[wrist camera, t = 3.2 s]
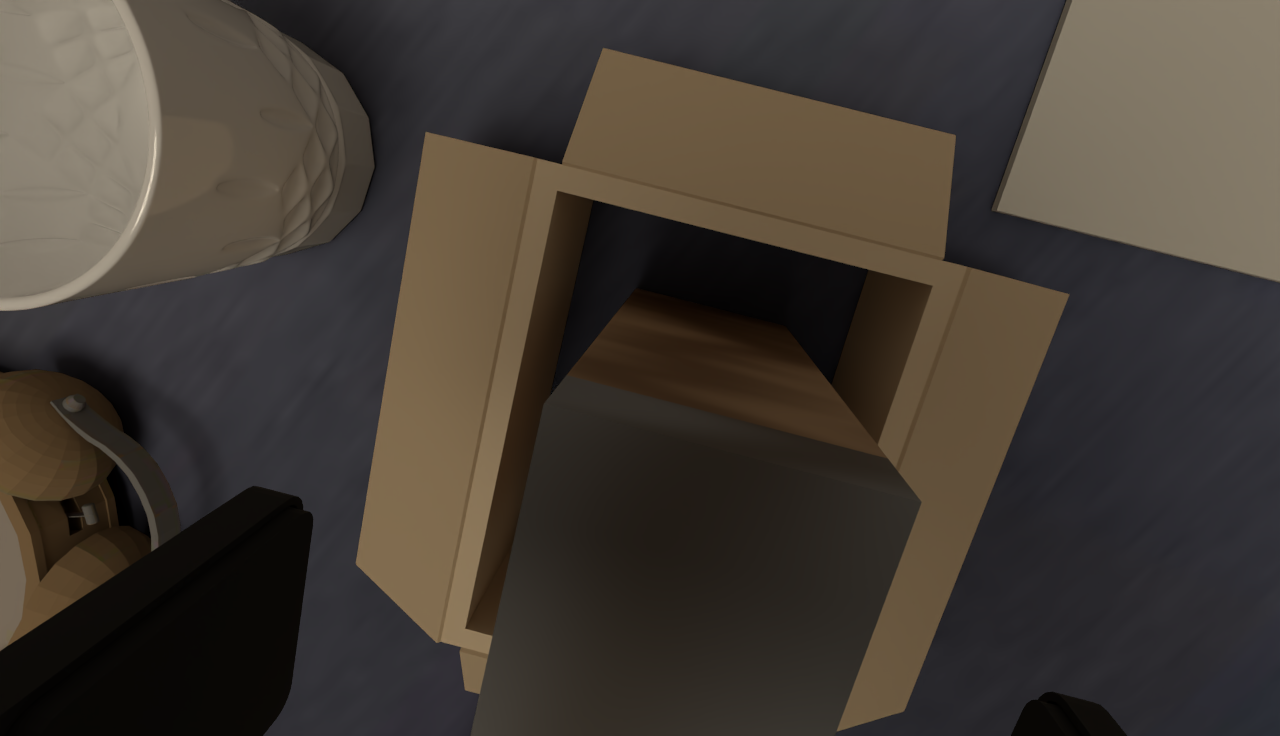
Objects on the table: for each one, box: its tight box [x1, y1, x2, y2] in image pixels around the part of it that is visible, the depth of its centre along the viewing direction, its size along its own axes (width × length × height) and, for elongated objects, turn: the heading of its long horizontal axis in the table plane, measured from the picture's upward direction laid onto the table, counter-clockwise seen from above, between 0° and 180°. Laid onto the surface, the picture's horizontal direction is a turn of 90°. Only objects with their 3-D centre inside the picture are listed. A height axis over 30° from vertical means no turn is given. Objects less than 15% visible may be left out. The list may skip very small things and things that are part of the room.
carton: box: [356, 48, 1069, 731], centre depth 20 cm, size 18×19×6 cm
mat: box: [991, 0, 1280, 283], centre depth 19 cm, size 11×11×1 cm
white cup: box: [0, 0, 375, 311], centre depth 18 cm, size 8×8×10 cm
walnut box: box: [470, 288, 922, 736], centre depth 16 cm, size 5×7×14 cm
